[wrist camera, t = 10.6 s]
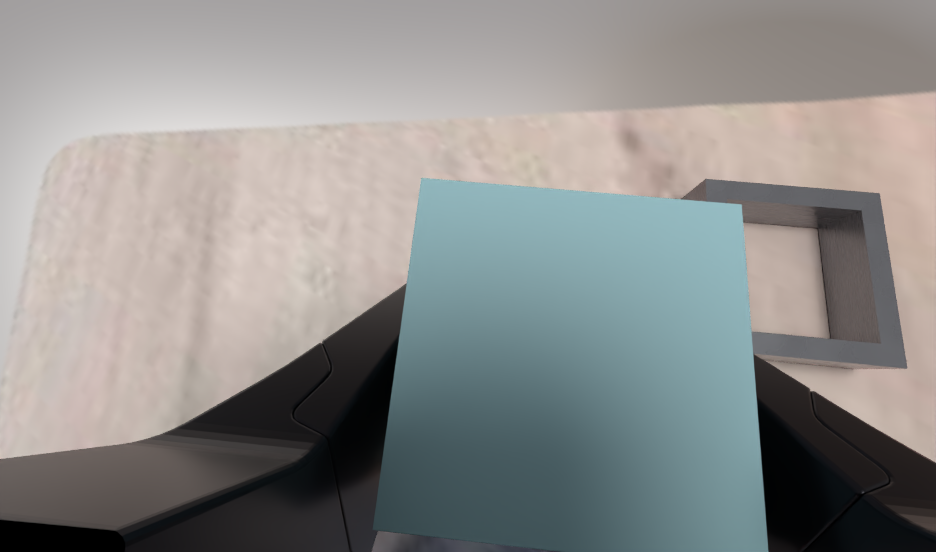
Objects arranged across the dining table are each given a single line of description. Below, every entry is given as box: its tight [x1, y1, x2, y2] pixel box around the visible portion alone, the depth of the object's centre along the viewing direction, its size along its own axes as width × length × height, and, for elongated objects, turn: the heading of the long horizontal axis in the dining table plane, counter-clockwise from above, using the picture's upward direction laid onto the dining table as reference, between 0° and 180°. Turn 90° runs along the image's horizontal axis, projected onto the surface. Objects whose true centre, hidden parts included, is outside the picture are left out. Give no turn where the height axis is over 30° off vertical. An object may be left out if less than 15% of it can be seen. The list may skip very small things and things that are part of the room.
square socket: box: [681, 179, 907, 369], centre depth 20 cm, size 8×8×2 cm
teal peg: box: [373, 178, 768, 552], centre depth 10 cm, size 4×4×10 cm
